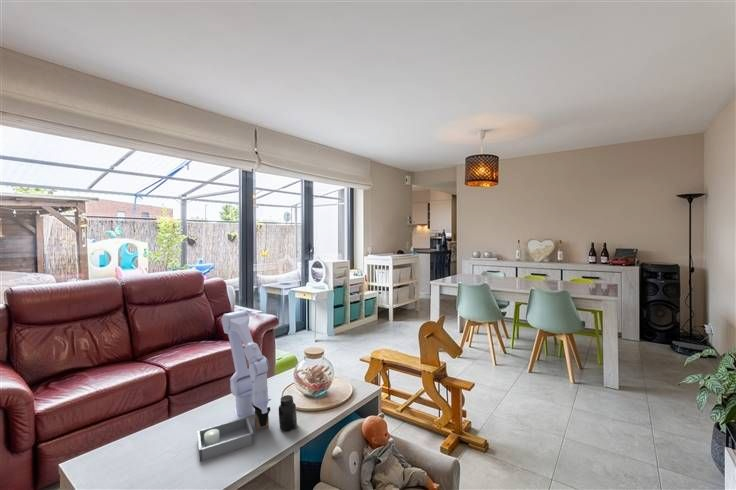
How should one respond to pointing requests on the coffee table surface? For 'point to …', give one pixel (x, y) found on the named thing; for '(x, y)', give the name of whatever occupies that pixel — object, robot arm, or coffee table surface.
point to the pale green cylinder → (211, 437)
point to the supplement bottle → (287, 414)
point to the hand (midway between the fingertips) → (261, 422)
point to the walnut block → (259, 423)
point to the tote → (226, 438)
